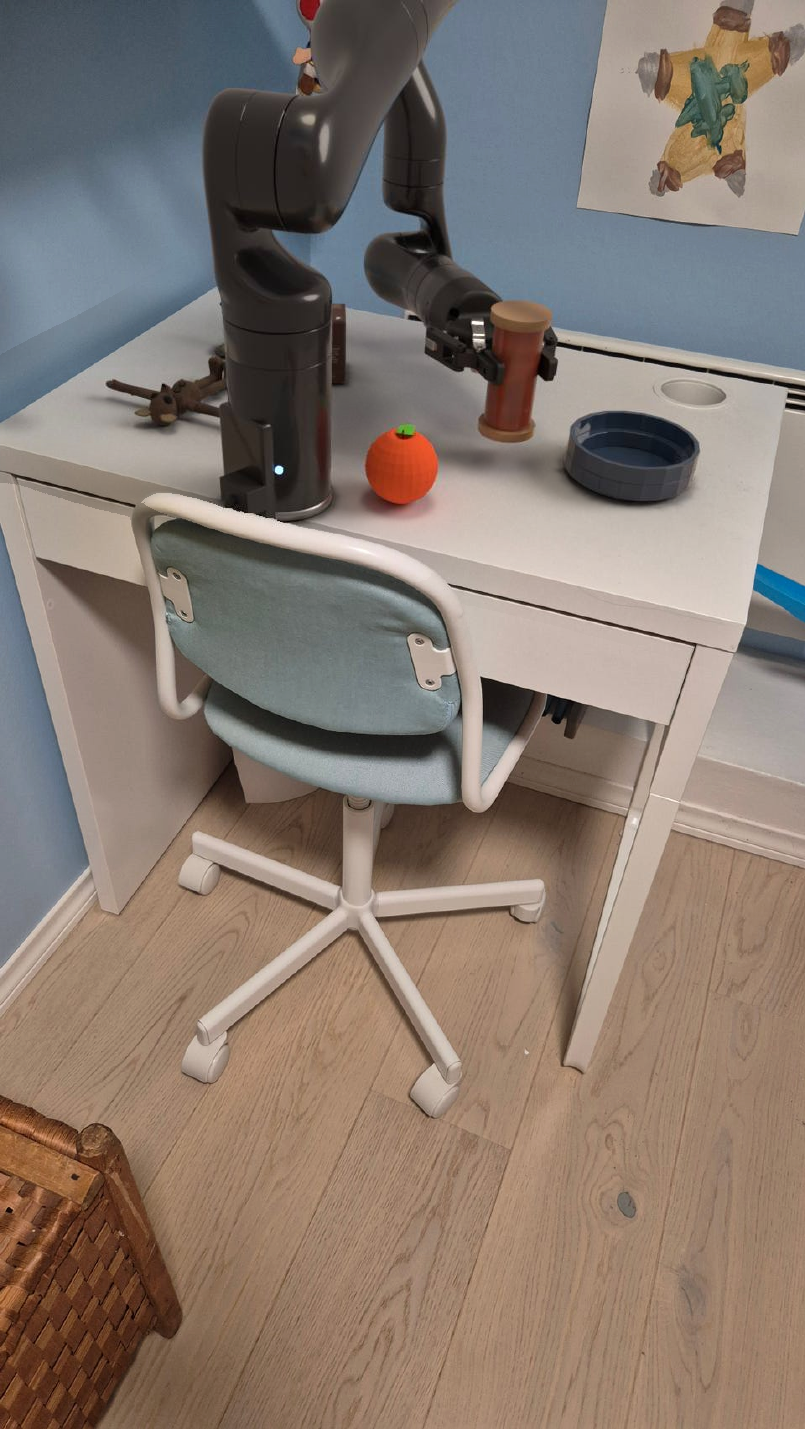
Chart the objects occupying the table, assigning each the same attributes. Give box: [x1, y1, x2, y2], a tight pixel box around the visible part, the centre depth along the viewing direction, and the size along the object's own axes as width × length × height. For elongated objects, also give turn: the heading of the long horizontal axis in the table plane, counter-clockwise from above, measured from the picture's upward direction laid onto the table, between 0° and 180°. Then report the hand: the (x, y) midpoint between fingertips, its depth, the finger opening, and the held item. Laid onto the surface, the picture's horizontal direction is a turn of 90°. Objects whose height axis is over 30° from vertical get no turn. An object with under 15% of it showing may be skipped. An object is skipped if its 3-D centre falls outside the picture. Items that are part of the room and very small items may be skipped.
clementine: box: [364, 423, 439, 505], centre depth 93 cm, size 8×7×7 cm
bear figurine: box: [105, 355, 227, 427], centre depth 107 cm, size 18×4×14 cm
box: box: [332, 302, 347, 384], centre depth 114 cm, size 6×6×7 cm
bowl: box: [564, 410, 701, 502], centre depth 100 cm, size 13×13×4 cm
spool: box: [477, 300, 553, 444], centre depth 96 cm, size 6×6×12 cm
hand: (526, 373), depth 94 cm, fingers closed on spool, 4 cm apart
